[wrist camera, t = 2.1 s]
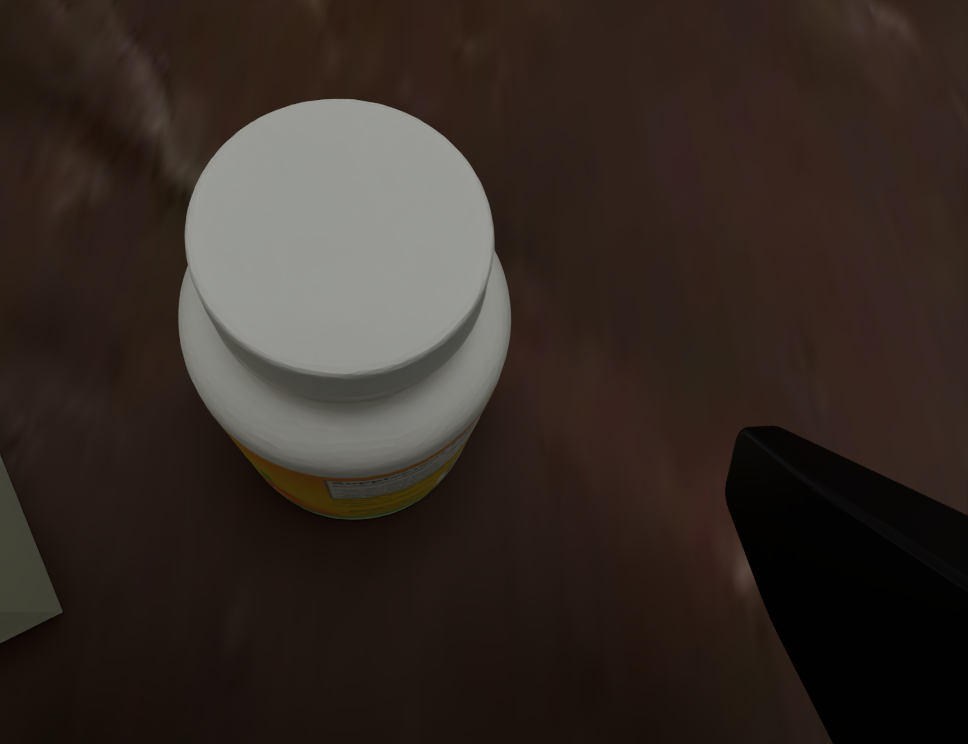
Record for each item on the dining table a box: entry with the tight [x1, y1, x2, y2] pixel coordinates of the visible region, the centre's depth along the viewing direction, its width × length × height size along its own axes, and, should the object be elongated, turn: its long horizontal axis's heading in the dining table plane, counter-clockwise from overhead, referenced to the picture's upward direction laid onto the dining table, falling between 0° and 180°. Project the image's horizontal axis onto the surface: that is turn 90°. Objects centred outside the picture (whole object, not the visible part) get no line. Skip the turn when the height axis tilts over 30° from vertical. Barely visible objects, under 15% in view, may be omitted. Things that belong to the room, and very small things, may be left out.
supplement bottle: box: [178, 99, 511, 519], centre depth 15 cm, size 5×5×10 cm
